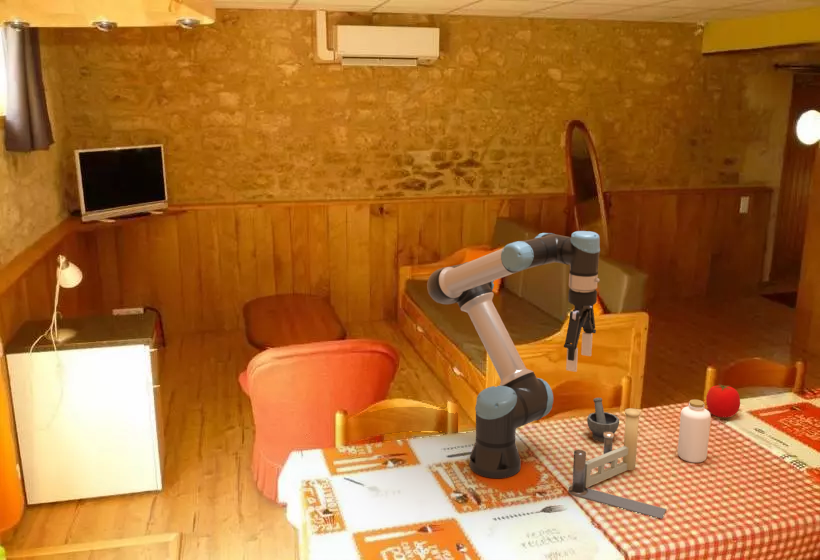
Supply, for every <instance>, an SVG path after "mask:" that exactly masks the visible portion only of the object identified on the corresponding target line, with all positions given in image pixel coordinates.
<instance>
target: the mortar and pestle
mask: <svg viewBox="0 0 820 560" xmlns="http://www.w3.org/2000/svg"><path fill="white" fill-rule="evenodd" d="M593 402H594V412H592V413H589V414H588V415H587V421H586V422H587V423H586V424H587V427H588V429H589V431H590V432H591V433H592V436H591V437H592V439H593V441H596V442H598V443H604V436H603V435H604V432H612V433H614V434H615V433H616V432H617V430H618V428H619V425H620V418H619V417H618V416H617V415H615V414H613V413H610V412H605V411H604V406H603V398H602V397H595V398H593Z"/></svg>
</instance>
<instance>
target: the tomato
mask: <svg viewBox="0 0 820 560" xmlns="http://www.w3.org/2000/svg"><path fill="white" fill-rule="evenodd" d="M705 399H706V401H705V402H706V403H705V404H706V407H707V410H708V411H709V412H710V414H711V415H713V416H714V417H718V418H721V419H725V418H731V417H734V416H735V415H737V413H738V411H739V410H740V407H741V398H740V394H739V392H738V390H737V389H736V388H734V387H732V386H731V385H730V384H729V385H724V384H723V385H722V384H720V383H718V385H714V386H711V387H710V388H709V390H708V391H707V394H706V397H705Z"/></svg>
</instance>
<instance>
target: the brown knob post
mask: <svg viewBox="0 0 820 560" xmlns="http://www.w3.org/2000/svg"><path fill="white" fill-rule="evenodd" d="M586 461H587V452H586V451H585V450H583V449H575V450H574V451H573V465H572V466H573V467H572V485H570V486H568V494H570V495H571V496H573V497H577V498H579V497H578V496H582V495H586V494H587V493H588V490H587V488H588V487H587V488H585V487H584V483H585V463H586ZM572 494H573V495H572Z"/></svg>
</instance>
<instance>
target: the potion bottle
mask: <svg viewBox="0 0 820 560" xmlns="http://www.w3.org/2000/svg"><path fill="white" fill-rule="evenodd" d="M711 415H712V414H711V412H710V411H709V409H706V408H705V403H704V401H703V400H700V399H690V400H689V402H688V406H684V407H683V408H682V409H681V411H680V418H679V429H678V431H679V432H678V440H677V441H678V443H677V455H678V457H680V459H681V460H684V461H685V462H689V463H695V464H696V463H697V464H698V463H702V462H704V461H706V460H707V458H708V450H709V449H708V447H709V439H710V428H711V420H712V419H711V418H712V416H711Z"/></svg>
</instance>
